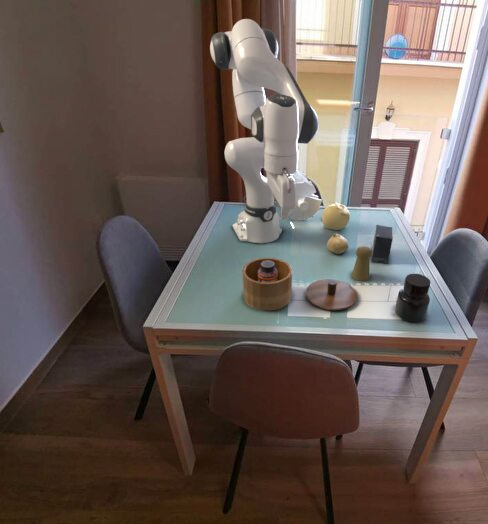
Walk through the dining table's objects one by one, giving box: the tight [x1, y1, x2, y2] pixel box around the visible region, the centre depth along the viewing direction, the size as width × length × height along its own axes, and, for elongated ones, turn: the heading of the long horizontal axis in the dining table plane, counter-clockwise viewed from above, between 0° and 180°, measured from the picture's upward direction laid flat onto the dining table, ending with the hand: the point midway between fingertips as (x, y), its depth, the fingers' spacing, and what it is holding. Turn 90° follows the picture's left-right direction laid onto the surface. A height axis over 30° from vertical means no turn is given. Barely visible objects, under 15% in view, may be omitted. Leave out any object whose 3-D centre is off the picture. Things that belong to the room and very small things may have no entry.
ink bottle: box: [394, 272, 432, 323], centre depth 103 cm, size 10×9×12 cm
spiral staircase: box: [288, 169, 323, 221], centre depth 165 cm, size 18×18×25 cm
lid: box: [305, 278, 358, 311], centre depth 111 cm, size 16×16×5 cm
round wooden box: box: [241, 257, 293, 312], centre depth 108 cm, size 15×15×10 cm
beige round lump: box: [321, 202, 351, 231], centre depth 154 cm, size 11×12×11 cm
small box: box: [370, 224, 394, 264], centre depth 133 cm, size 11×6×10 cm, turn 168°
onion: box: [326, 233, 349, 255], centre depth 136 cm, size 8×8×7 cm
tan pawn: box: [351, 245, 372, 282], centre depth 120 cm, size 6×6×11 cm
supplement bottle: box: [258, 261, 278, 282], centre depth 107 cm, size 6×6×11 cm
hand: (280, 212), depth 101 cm, fingers open, 8 cm apart
